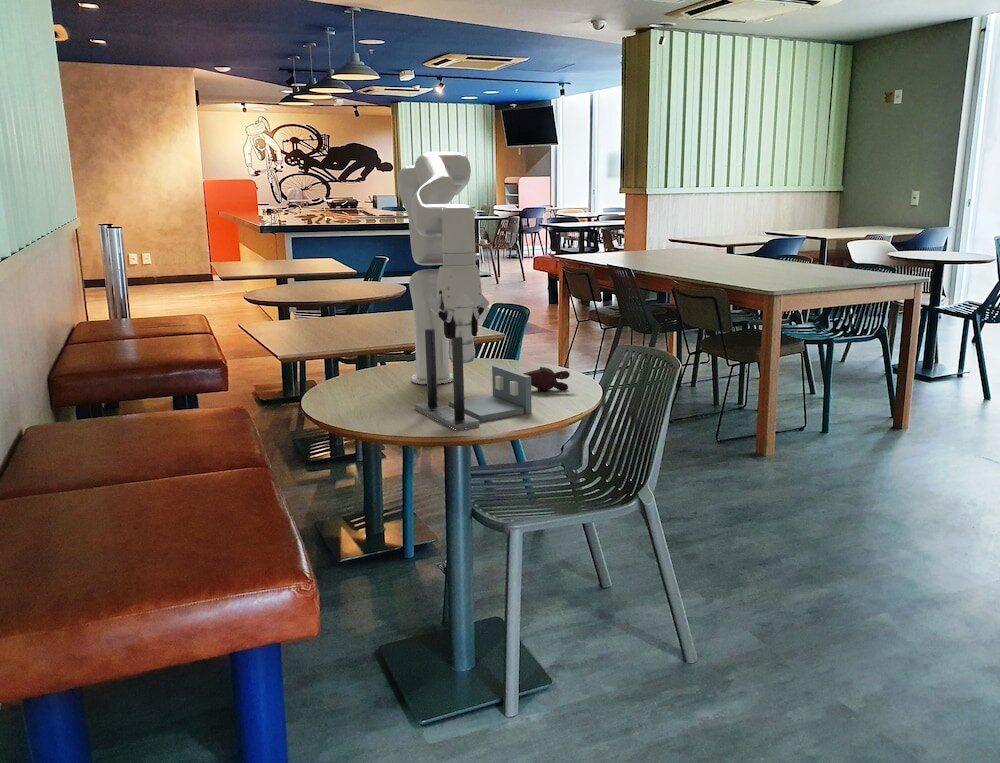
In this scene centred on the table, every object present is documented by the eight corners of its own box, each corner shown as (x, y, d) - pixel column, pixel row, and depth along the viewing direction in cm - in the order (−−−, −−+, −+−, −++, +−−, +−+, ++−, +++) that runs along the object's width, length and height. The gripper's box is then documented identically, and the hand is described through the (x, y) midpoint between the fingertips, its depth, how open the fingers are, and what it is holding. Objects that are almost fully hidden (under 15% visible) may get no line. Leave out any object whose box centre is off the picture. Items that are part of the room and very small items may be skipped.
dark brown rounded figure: (513, 371, 210) (570, 376, 209) (515, 359, 216) (570, 363, 216) (511, 394, 213) (567, 399, 213) (513, 381, 220) (567, 386, 219)
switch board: (449, 407, 200) (447, 372, 198) (497, 399, 207) (497, 365, 205) (480, 421, 187) (479, 384, 185) (531, 412, 194) (531, 376, 192)
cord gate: (415, 409, 199) (411, 328, 194) (436, 406, 202) (433, 326, 197) (456, 431, 181) (453, 341, 176) (479, 426, 184) (477, 339, 179)
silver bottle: (478, 360, 193) (477, 277, 189) (471, 366, 187) (469, 281, 182) (453, 359, 195) (451, 277, 190) (444, 365, 188) (442, 280, 184)
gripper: (483, 256, 192) (484, 331, 197) (418, 261, 184) (421, 338, 188) (499, 259, 186) (500, 335, 190) (432, 263, 178) (435, 343, 182)
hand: (461, 336), depth 189 cm, fingers closed on silver bottle, 5 cm apart
